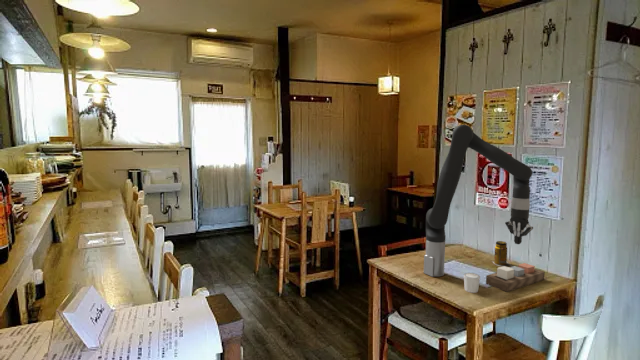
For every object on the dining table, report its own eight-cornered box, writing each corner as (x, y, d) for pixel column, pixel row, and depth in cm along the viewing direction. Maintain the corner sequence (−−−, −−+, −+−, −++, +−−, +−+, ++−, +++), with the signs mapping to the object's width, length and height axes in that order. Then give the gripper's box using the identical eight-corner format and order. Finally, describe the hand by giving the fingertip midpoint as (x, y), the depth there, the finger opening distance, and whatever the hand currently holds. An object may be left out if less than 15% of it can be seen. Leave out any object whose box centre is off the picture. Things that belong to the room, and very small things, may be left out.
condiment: (491, 261, 209) (492, 240, 208) (506, 261, 209) (507, 240, 208) (497, 266, 202) (498, 244, 201) (513, 266, 202) (514, 244, 201)
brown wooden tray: (507, 292, 169) (507, 283, 169) (485, 283, 179) (486, 275, 178) (544, 279, 183) (544, 271, 183) (522, 272, 193) (522, 265, 192)
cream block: (506, 279, 173) (507, 271, 173) (496, 276, 178) (497, 267, 177) (513, 277, 176) (514, 269, 175) (503, 274, 180) (504, 266, 180)
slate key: (517, 279, 177) (517, 271, 177) (507, 275, 182) (508, 267, 181) (523, 277, 180) (524, 269, 179) (514, 273, 184) (514, 265, 184)
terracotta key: (527, 276, 181) (528, 267, 181) (517, 272, 186) (518, 264, 185) (534, 274, 184) (534, 266, 183) (524, 270, 188) (524, 263, 187)
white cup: (460, 287, 175) (461, 272, 174) (474, 286, 176) (475, 272, 175) (467, 293, 168) (468, 278, 167) (482, 293, 169) (483, 277, 168)
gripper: (502, 205, 180) (499, 241, 183) (529, 210, 169) (526, 248, 171) (512, 204, 184) (509, 239, 186) (539, 209, 173) (536, 246, 175)
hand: (517, 243), depth 179 cm, fingers closed
